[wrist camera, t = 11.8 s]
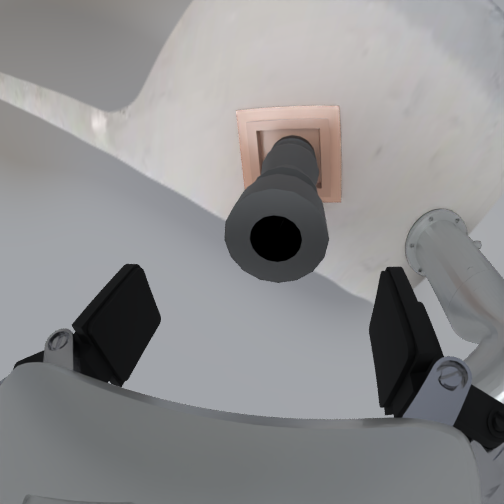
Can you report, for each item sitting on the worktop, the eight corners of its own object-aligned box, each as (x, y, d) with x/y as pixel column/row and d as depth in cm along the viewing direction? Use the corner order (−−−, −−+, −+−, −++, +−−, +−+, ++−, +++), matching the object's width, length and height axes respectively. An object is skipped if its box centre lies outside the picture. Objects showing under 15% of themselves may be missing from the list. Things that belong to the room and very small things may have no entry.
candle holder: (316, 177, 37) (330, 286, 16) (272, 178, 38) (228, 284, 17) (314, 134, 34) (334, 182, 12) (269, 135, 35) (211, 186, 14)
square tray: (338, 105, 32) (342, 105, 28) (340, 200, 39) (343, 209, 35) (237, 110, 35) (230, 110, 31) (247, 201, 42) (242, 210, 38)
